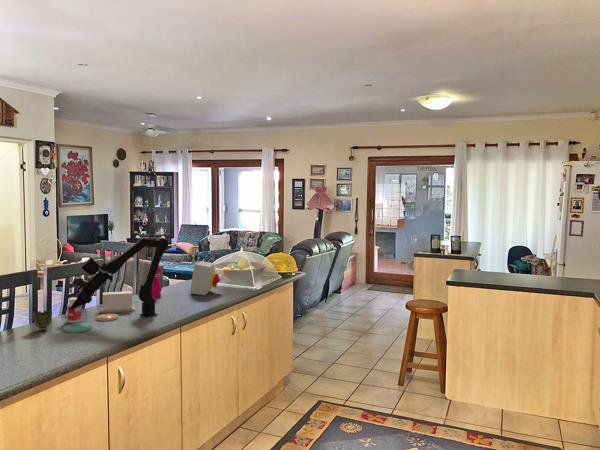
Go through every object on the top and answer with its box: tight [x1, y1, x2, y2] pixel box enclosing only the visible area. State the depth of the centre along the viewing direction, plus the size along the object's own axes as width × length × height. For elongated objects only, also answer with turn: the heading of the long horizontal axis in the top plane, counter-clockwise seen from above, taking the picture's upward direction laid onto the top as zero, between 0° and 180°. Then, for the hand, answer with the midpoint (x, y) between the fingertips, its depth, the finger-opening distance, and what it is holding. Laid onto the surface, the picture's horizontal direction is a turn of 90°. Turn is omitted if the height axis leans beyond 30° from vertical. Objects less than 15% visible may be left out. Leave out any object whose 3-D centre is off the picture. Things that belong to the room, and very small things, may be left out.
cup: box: [32, 309, 53, 332], centre depth 212 cm, size 8×7×8 cm
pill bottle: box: [66, 296, 83, 324], centre depth 227 cm, size 6×6×11 cm
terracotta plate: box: [95, 313, 120, 322], centre depth 234 cm, size 10×10×1 cm
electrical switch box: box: [189, 260, 221, 296], centre depth 294 cm, size 15×15×20 cm
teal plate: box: [62, 322, 94, 334], centre depth 216 cm, size 12×12×1 cm
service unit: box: [100, 290, 136, 314], centre depth 249 cm, size 7×16×9 cm, turn 110°
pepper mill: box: [151, 265, 163, 299], centre depth 282 cm, size 7×7×20 cm
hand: (71, 306), depth 226 cm, fingers closed on pill bottle, 6 cm apart
